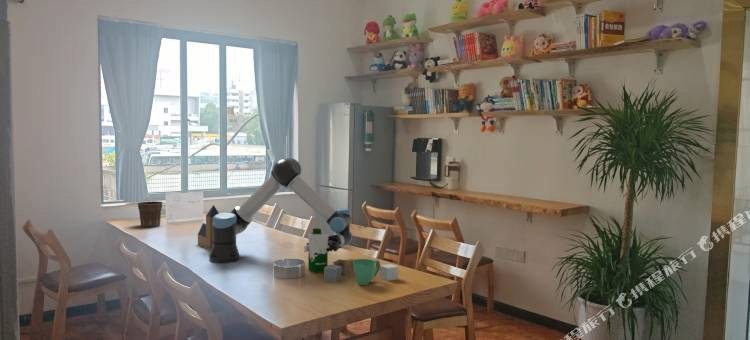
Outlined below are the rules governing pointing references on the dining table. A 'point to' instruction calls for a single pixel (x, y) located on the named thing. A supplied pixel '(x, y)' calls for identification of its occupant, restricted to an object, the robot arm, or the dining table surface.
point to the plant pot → (150, 213)
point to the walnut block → (343, 266)
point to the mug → (365, 270)
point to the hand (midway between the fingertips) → (313, 250)
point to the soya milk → (317, 251)
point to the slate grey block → (332, 273)
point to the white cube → (389, 272)
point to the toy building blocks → (207, 230)
